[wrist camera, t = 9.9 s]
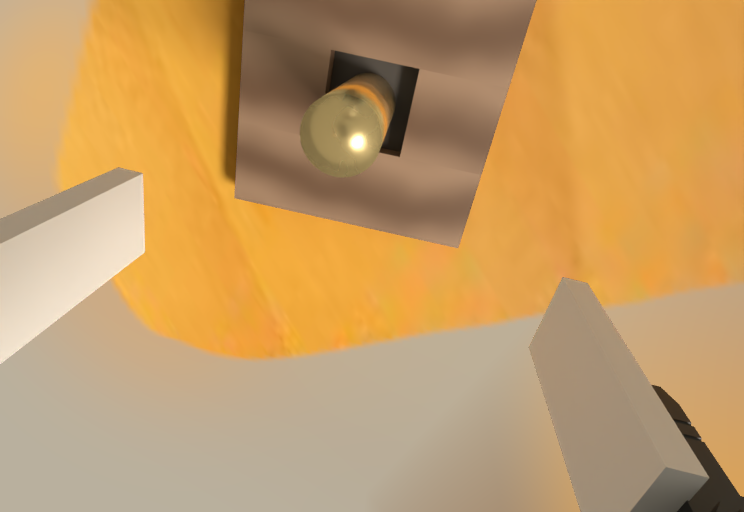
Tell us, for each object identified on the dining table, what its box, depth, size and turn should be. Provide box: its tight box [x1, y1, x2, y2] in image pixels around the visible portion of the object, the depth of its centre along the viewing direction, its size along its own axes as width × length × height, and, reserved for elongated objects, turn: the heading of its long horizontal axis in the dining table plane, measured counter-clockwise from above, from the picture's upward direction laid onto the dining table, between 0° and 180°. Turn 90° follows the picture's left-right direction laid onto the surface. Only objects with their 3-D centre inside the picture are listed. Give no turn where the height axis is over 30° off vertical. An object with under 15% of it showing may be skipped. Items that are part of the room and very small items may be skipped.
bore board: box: [235, 0, 536, 248], centre depth 32 cm, size 18×18×2 cm
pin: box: [300, 73, 396, 177], centre depth 27 cm, size 4×4×12 cm
